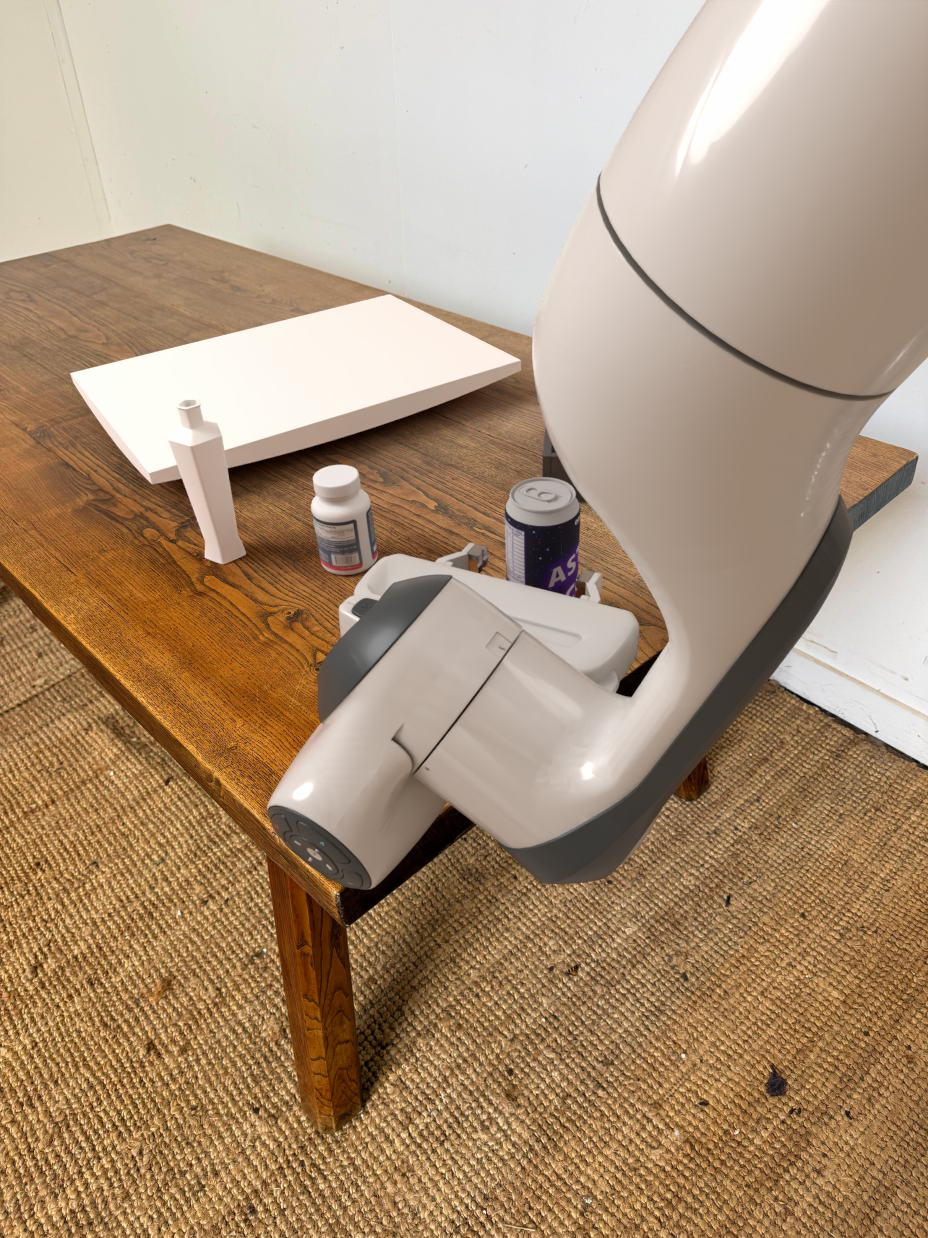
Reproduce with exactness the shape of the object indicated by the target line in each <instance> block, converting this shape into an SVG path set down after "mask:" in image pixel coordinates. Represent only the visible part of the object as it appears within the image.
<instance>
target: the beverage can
mask: <svg viewBox="0 0 928 1238" xmlns="http://www.w3.org/2000/svg"><path fill="white" fill-rule="evenodd" d="M581 510H582V509H581V505H580V502H578V500H577V499H576V492H575V490H574V488H573V487H572V486H571V485H570V484H569V483H567V482H565V481H562V480H559V479H555V478H548V477H542V476H539V477H532V478H527V479H523V480H521V481H519V482H518V483H516V484H515V485H514V486H513V487H512V488H511V489H510V491H509V498H508V500H507V501H506V504H505V506H504V534H505V535H504V540H505V578H506V579H505V580H507V581H511V582H515V583H519V584H523V585H527V586H531V587H535V588H539V589H543V590H547V591H551V592H555V593H559V594H563V595H567V596H571V597H575V592H576V590H577V588H576V579H577V577H578V576H579V563H580V561H579V559H580V536H581V534H580V533H581V512H582V511H581Z"/></svg>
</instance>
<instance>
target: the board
mask: <svg viewBox="0 0 928 1238" xmlns="http://www.w3.org/2000/svg"><path fill="white" fill-rule="evenodd" d="M521 371H522V360H521V359H520V358H517V357H515V356H513V354H510V353H507V352H506V351H503V350H501V349H500V348H498V347H496V346H494V345H491V344H489V343H487V342H485V341H484V340H482V339H480V338H478V337H476V336H474V335H472V334H470V333H468V332H466V331H463V330H462V329H460V328H458V327H455V326H454V325H452V324H450V323H449V322H445V321H444V320H442V319H440V318H438V317H435V316H434V315H432V314H430V313H428V312H426V311H425V310H422V309H420V308H418V307H416V306H414V305H412V304H410V303H408V302H407V301H405V300H402V299H400V298H398V297H396V296H394V295H392V294H390V293H389V294H385V295H380V296H377V297H372V298H369V299H365V300H364V299H363V300H361V301H356V302H352V303H348V304H343V305H340V306H337V307H332V308H328V309H324V310H320V311H316V312H312V313H308V314H304V315H299V316H296V317H295V316H294V317H291V318H287V319H284V320H279V321H275V322H272V323H271V322H270V323H268V324H263V325H259V326H255V327H251V328H247V329H244V330H243V329H242V330H239V331H235V332H231V333H227V334H223V335H222V334H221V335H219V336H214V337H210V338H206V339H203V340H199V341H195V342H191V343H187V344H182V345H178V346H174V347H171V348H167V349H161V350H158V351H154V352H150V353H147V354H146V353H145V354H141V355H138V356H133V357H129V358H126V359H122V360H118V361H113V362H110V363H105V364H102V365H98V366H93V367H90V368H85V369H82V370H81V369H80V370H77V371H74V372H70V373H69V374H70V377H71V380H72V382H73V384H74V386H75V389H77V391H78V393H79V395H80V396H81V397H82V398H83V400H84V401H85V403H86V405H87V406H88V408H89V409H90V411H91V412H92V414H93V415H94V417H95V418H96V419H97V420H98V422H99V424H100V425H101V426H102V428H103V429H104V431H105V432H106V433H107V434H108V436H109V438H111V440H112V441H113V442H114V443H115V445H116V446H117V447H118V449H119V451H121V453H123V455H124V456H125V457H126V458H127V460H128V461H129V462H130V463H131V464H132V465H133V467H134V468H136V470H137V471H138V472H139V473H140V474H141V475H142V476H143V477H144V478H145V479H146V480H147V481H148V482H149V483H150V484H151V485H156V484H161V483H167V482H171V481H176V480H180V479H181V480H182V477H181V474H180V471H179V469H178V466H177V463H176V460H175V458H174V455H173V452H172V449H171V447H170V444H169V441H168V438H169V437H170V436H171V435H172V434H174V433H175V432H176V431H177V430H178V429H179V428H180V427H181V426H182V424H181V420H180V416H179V412H178V409H177V408H176V407H175V405H176V404H177V403H179V402H180V401H181V400H183V399H195V398H198V399H199V400H200V402H201V405H200V408H201V412H202V416H203V420H204V421H210V422H216V423H217V424H218V426H219V429H220V431H221V434H222V439H223V445H224V451H225V457H226V463H227V469H230V468H234V467H239V466H243V465H246V464H247V465H248V464H251V463H255V462H259V461H262V460H266V459H271V458H274V457H278V456H282V455H286V454H289V453H294V452H297V451H300V450H304V449H307V448H311V447H314V446H318V445H321V444H326V443H329V442H332V441H336V440H338V439H341V438H346V437H348V436H352V435H355V434H357V433H360V432H365V431H367V430H370V429H373V428H376V427H379V426H382V425H385V424H388V423H391V422H394V421H396V420H400V419H403V418H406V417H408V416H411V415H414V414H417V413H420V412H423V411H425V410H428V409H430V408H434V407H436V406H439V405H441V404H444V403H446V402H449V401H451V400H452V401H453V400H454V399H457V398H459V397H462V396H464V395H467V394H470V393H471V392H474V391H476V390H479V389H481V388H484V387H487V386H489V385H491V384H494V383H496V382H498V381H500V380H503V379H505V378H507V377H510V376H512V375H514V374H517V373H519V372H521Z"/></svg>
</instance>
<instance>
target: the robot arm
mask: <svg viewBox="0 0 928 1238" xmlns="http://www.w3.org/2000/svg"><path fill="white" fill-rule="evenodd" d="M531 346H532V347H531V359H532V370H533V379H534V386H535V391H536V397H537V401H538V404H539V408H540V409H539V410H540V412H541V416H542V419H543V423H544V427H545V426H546V429H547V432H548V434H549V437H550V440H551V442H552V444H553V447H554V449H555V451H556V453H557V455H558V457H559V459H560V461H561V463H562V465H563V467H564V469H565V471H566V472H567V474H568V476H569V478H570V479H571V481H572V483H573V484H574V486H575V487H576V489H577V490H578V491H579V493H580V494H581V496H582V497H583V498H584V499H585V501H586V502H585V503H587V505H588V506H589V507H590V509H592V511H593V512H594V513H595V514H596V515H597V517H599V519H600V520H601V521H602V523H603V524H604V526H606V528H607V530H609V532H610V533H611V534H612V536H613V537H614V538H615V540H616V541H617V542H618V544H619V545H620V547H621V548H622V549H623V551H624V552H625V554H626V555H627V557H628V558H629V559H630V560H631V562H632V564H633V565H634V567H635V569H636V570H637V572H638V573H639V575H640V577H641V578H642V579H643V582H644V583H645V585H646V586H647V588H648V590H649V592H650V593H651V595H652V597H653V599H654V601H655V603H656V605H657V607H658V608H659V610H660V612H661V615H662V618H663V620H664V623H665V626H666V630H667V633H668V642H667V643H666V645H665V647H664V648H663V649H662V650H661V652H660V654H659V655H658V656H657V659H656V660H655V661H654V663H653V664H652V665H651V667H650V668H649V670H648V671H647V674H646V675H645V676H644V677H643V679H642V681H641V683H640V684H639V685H638V687H637V688H636V690H635V691H634V693H633V695H632V696H625V695H622V694H619V693H617V692H618V689H619V688H620V682H621V681H622V679H623V678H624V677H625V676H626V675H627V673H628V672H629V669H631V667H632V665H633V664H634V662H635V660H636V658H637V655H638V651H639V643H640V624H639V622H638V619H637V618H636V616H635V614H634V613H633V612H632V611H630V610H628V609H627V610H626V609H623V608H619V607H615V606H610V605H606V604H602V603H601V596H600V594H601V592H602V588H603V578H604V576H603V573H601V572H597V571H592V570H587V569H582V570H581V571H580V574H578V577H577V579H576V588H577V590H576V592H575V597H571V596H567V595H563V594H559V593H555V592H551V591H547V590H543V589H539V588H535V587H531V586H527V585H523V584H519V583H515V582H511V581H507V580H506V579H503V578H500V577H495V576H492V575H487V574H483V573H482V572H483V569H485V568H486V567H487V565H488V563H489V555H488V552H489V547H488V546H486V545H482V544H479V543H474V542H469V543H468V544H467V545H466V546H465V547H464V548H463V549H462V550H461V551H457V552H454V553H451V554H447V555H444V556H441V557H438V558H437V559H436V560H435V561H431V560H427V559H424V558H419V557H415V556H411V555H407V554H404V553H394V554H390V555H386V556H383V557H381V558H380V559H378V561H376V562H375V563H374V564H373V565H372V566H371V567H370V568H369V569H368V570H367V571H366V573H365V574H364V575H363V576H362V578H361V579H360V580H359V581H358V583H357V584H356V586H355V588H354V591H353V595H351V596H348V597H347V598H346V599H345V600H344V601H343V602H342V603H341V604H340V605H339V606H338V622H339V623H338V625H339V633H340V638H339V639H338V640H337V642H335V643H334V645H333V646H332V647H331V649H330V650H329V651H328V652H327V655H326V656H325V658H324V659H323V661H322V663H321V665H320V667H319V671H318V675H317V713H318V719H319V724H318V725H317V726H316V728H315V730H314V731H313V732H312V734H311V735H310V736H309V738H308V739H307V740H306V742H305V743H304V744H303V745H302V747H301V748H300V750H299V752H298V753H297V754H296V756H295V757H294V759H293V760H292V762H291V763H290V765H289V767H288V768H287V770H286V771H285V772H284V774H283V776H282V777H281V779H280V780H279V782H278V783H277V786H276V787H275V789H274V791H273V792H272V794H271V796H270V798H269V800H268V802H267V807H266V813H267V814H266V815H267V816H268V819H269V821H270V824H271V827H272V829H273V831H274V832H275V834H276V835H277V836H278V837H279V839H280V840H281V841H282V842H283V843H284V846H286V848H287V849H289V850H290V851H291V852H292V853H294V855H296V856H297V857H298V858H299V859H300V860H302V862H304V863H306V864H307V865H308V866H309V867H311V868H312V869H314V871H317V872H318V873H319V874H320V875H322V876H323V877H325V878H326V879H328V880H330V881H331V882H334V883H337V884H338V885H341V886H343V887H345V888H348V889H356V890H363V891H364V890H365V891H366V890H373V889H374V888H376V886H378V885H379V884H380V883H382V882H383V881H384V880H385V879H386V878H387V877H388V875H389V874H391V872H392V871H393V870H394V869H395V868H396V867H397V866H398V865H399V864H400V863H401V862H402V860H403V859H404V858H405V857H406V856H407V855H408V853H409V852H410V851H411V850H412V849H413V848H414V847H415V845H416V844H418V842H419V841H420V840H421V838H423V836H424V834H425V833H427V831H428V830H429V828H431V826H432V824H433V823H434V822H435V821H436V819H437V818H438V816H439V815H440V814H441V812H442V811H443V810H444V808H445V807H446V805H447V803H448V804H449V805H450V806H451V807H453V808H454V809H455V810H456V811H458V812H459V813H461V814H462V815H463V816H465V817H466V818H467V819H469V820H470V821H471V822H472V823H474V824H475V825H476V826H478V827H479V828H480V829H482V830H483V831H484V832H485V833H486V834H488V835H489V836H490V837H492V838H493V839H494V841H495V842H496V843H497V845H498V846H499V847H500V848H502V849H503V850H504V851H505V852H506V853H507V854H508V855H509V856H511V857H512V858H513V859H514V860H515V861H516V862H517V863H518V864H519V865H520V866H522V867H523V868H524V869H525V870H526V871H527V872H528V873H529V874H530V875H532V876H533V877H534V878H535V879H536V881H538V882H539V883H541V884H543V885H574V884H583V883H585V884H586V883H590V882H591V883H592V882H596V881H600V880H604V879H607V878H608V877H609V876H611V875H612V874H613V873H614V872H615V871H616V870H617V869H618V868H619V867H621V866H622V865H623V864H624V863H626V861H627V860H628V859H630V857H631V856H633V854H634V853H635V852H636V851H637V849H639V848H640V846H641V845H642V844H643V842H644V841H645V839H646V838H647V837H648V835H649V833H650V832H651V830H652V828H653V827H654V825H655V824H656V822H657V820H658V818H659V817H660V815H661V812H662V810H663V808H664V807H665V806H666V804H667V803H668V801H669V800H670V799H671V797H672V796H673V795H674V794H675V792H677V790H678V789H679V788H680V786H681V785H682V784H683V783H684V782H685V781H686V779H687V778H688V777H689V776H690V775H691V773H692V772H693V771H694V770H695V769H696V767H697V766H698V765H699V764H700V763H701V762H702V760H703V759H704V758H705V757H706V756H707V754H708V753H709V752H710V751H711V750H712V748H713V747H715V745H716V743H718V741H719V740H720V739H721V738H722V737H723V736H724V734H725V733H726V732H727V730H729V728H731V726H732V725H733V724H734V722H736V720H737V719H738V718H739V717H740V715H741V714H742V713H743V712H744V710H745V709H747V707H748V706H749V704H750V703H751V702H752V701H753V700H754V698H755V697H756V696H757V695H758V694H759V692H760V691H761V690H762V689H763V687H764V686H765V685H766V683H768V681H769V680H770V679H771V678H772V676H773V674H775V672H776V671H777V669H778V668H779V667H780V665H781V664H782V663H783V661H784V660H785V659H786V658H787V657H788V655H789V654H790V653H791V651H793V649H794V647H795V646H796V644H797V643H798V642H799V641H800V640H801V638H802V637H803V635H804V634H805V633H806V631H807V630H808V628H809V627H810V626H811V624H812V623H813V621H814V620H815V618H816V617H817V615H818V614H819V612H820V610H821V609H822V608H823V605H824V604H825V602H826V600H827V598H828V597H829V595H830V594H831V591H832V589H833V588H834V586H835V584H836V582H837V580H838V578H839V575H840V573H841V571H842V568H843V566H844V563H845V560H846V559H847V556H848V553H849V549H850V547H851V544H852V543H851V542H852V540H853V536H854V532H855V525H854V523H853V520H852V518H851V516H850V513H849V511H848V508H847V506H846V503H845V500H844V499H843V496H842V493H840V488H841V483H842V478H843V474H844V469H845V467H846V463H847V460H848V458H849V455H850V453H851V452H852V449H853V447H854V445H855V443H856V441H857V439H858V437H859V436H860V434H861V433H862V431H863V429H864V428H865V427H866V425H867V423H868V422H869V421H870V420H871V418H872V417H873V416H874V415H875V413H876V412H877V411H878V410H879V408H880V407H881V406H882V405H883V404H884V403H885V402H886V401H887V400H888V398H890V396H892V394H894V392H895V391H896V390H897V389H898V388H899V387H900V386H901V385H902V384H903V383H904V382H905V381H906V380H907V379H908V378H909V377H910V376H911V375H912V374H913V373H914V372H915V371H916V370H917V369H918V368H919V367H921V365H923V363H924V362H925V361H926V360H927V359H928V0H705V1H704V3H703V5H702V6H701V7H700V9H699V11H698V12H697V14H696V15H695V17H694V18H693V20H692V21H691V22H690V23H689V25H688V27H687V28H686V30H685V31H684V33H683V34H682V36H681V37H680V39H679V40H678V41H677V43H676V44H675V46H674V47H673V49H672V51H671V52H670V54H669V55H668V57H667V58H666V60H665V62H664V63H663V65H662V67H661V68H660V70H659V71H658V73H657V75H656V76H655V77H654V80H653V81H652V82H651V85H650V86H649V88H648V89H647V90H646V92H645V94H644V95H643V97H642V98H641V100H640V102H639V104H638V106H637V107H636V108H635V110H634V112H633V114H632V116H631V118H630V119H629V120H628V123H627V124H626V126H625V128H624V129H623V131H622V133H621V135H620V137H619V138H618V140H617V142H616V144H615V146H614V147H613V149H612V151H611V152H610V154H609V156H608V158H607V160H606V162H605V163H604V165H603V166H602V169H601V170H600V172H599V174H598V176H597V178H596V179H595V181H594V183H593V185H592V187H591V188H590V190H589V192H588V194H587V196H586V197H585V200H584V202H583V204H582V205H581V207H580V210H579V211H578V213H577V215H576V217H575V219H574V221H573V223H572V225H571V227H570V229H569V232H568V234H567V235H566V237H565V240H564V242H563V245H562V246H561V248H560V251H559V253H558V256H557V258H556V260H555V262H554V265H553V267H552V270H551V272H550V274H549V277H548V278H547V282H546V285H545V288H544V291H543V293H542V296H541V299H540V302H539V305H538V309H537V312H536V315H535V320H534V326H533V331H532V339H531Z"/></svg>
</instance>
